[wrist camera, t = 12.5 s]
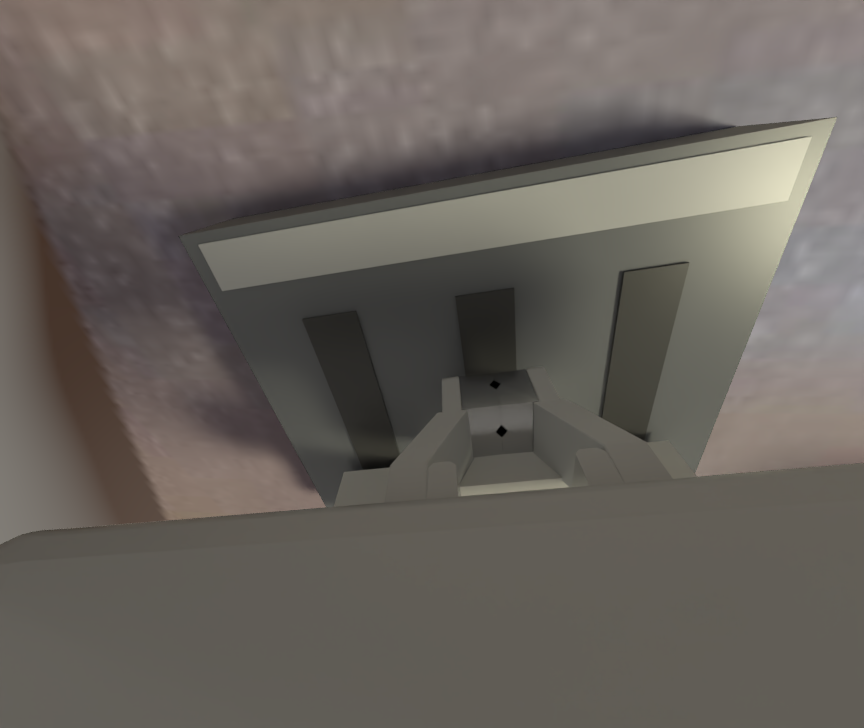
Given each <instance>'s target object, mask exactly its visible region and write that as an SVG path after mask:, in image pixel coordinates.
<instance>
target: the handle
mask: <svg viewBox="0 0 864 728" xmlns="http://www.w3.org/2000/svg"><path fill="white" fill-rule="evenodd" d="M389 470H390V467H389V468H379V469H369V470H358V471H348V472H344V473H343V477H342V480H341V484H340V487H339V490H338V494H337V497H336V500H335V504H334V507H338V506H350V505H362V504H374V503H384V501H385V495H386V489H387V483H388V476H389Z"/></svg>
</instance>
